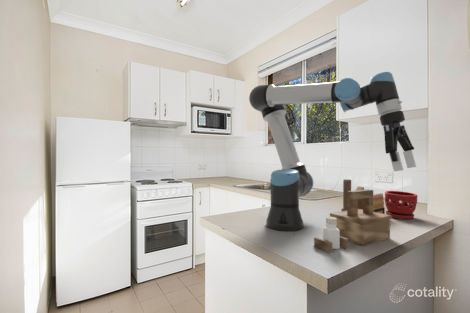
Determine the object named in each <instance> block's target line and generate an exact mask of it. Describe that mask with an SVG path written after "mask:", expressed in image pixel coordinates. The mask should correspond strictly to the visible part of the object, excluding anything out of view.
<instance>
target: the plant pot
mask: <svg viewBox="0 0 470 313" xmlns="http://www.w3.org/2000/svg"><path fill="white" fill-rule="evenodd" d="M417 204H418V194H416V193H412V192H408V191H399V190H386V191H384V205H385V207H386V209H387V210H385V214H387V215H392V218H393V219H400V220H411V219H413V218H415V214H414V212H415V211H416V208H417Z"/></svg>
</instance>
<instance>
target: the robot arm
mask: <svg viewBox="0 0 470 313" xmlns="http://www.w3.org/2000/svg"><path fill="white" fill-rule="evenodd" d="M397 89H398V88H397V85H396V82H395V78H394V76H393V73H391V72H390V71H383V72H380V73H376V74H375V75H372V77H371V78H369V83H367V84H365V85H362V86H360V84H359V83H358V81H357V80H355V79H353V78H350V77H345V78H342V79H341V80H339V81H333V82H331V81H330V82H319V83H317V82H316V83H305V84H294V85H293V84H291V85H280V86H275V85H274V84H260V85H257V86H255V87H254V88H253V89H252V90H251V91H250V93H249V98H248V99H249V104H250V105H251V107H252V108H253V109H254V110H256V111H259V112H261V115H262V118H263V120H264V121H265V122H267V124H268V128H269V130H270V133H271V134H270V135H272V140H273V142H274V145H275V149H276V152H277V156H278V157H279V158H278V159H279V161H280V163H281V169H276V170H274V171H272V172H271V174H270V178H269V179H270V181H269V182H270V208H269V210H268V214H267V217H266V221H265V222H266V224H265V225H266V226H267V227H268V228H270V229H272V230H277V231H282V232H283V231H284V232H294V231H300V230H302V229H304V220H303V218H302V214H301V211H300V197H304V196H306V195H308V194H309V193H310V192H311V191H312V189H313V187H314V179H313V176H312V175H311V174H310V173H309V172H308V170H307V167H306V165H305V164H304V163H302V162H301V161H300V158H299V155H298V153H297V152H298V151H297V149H296V146H295V143H294V140H293V137H292V134H291V131H290V128H289V126H288V123H287V120H286V117H285V116H286V115H287V110H286V107H287V105H297V104H298V105H300V104H303V105H304V104H324V103H325V104H328V103H329V104H330V103H334V104H335V103H339V105H340V107H341V108H342V110H343V112H346V111H350V110H351V111H353V110H354V109H358V108H361V107H364V106H367V105H370V104H374V103H375V105H376V110H377V114H378V116H380V117H379V121H380V124H381V126H382V127H383V128H382V129H383V133H384V134H383V135H384V147H385V149H384V150H385V153H386V154H389V157H390V162H391V166H392V170H393V172H400V171H404V167H403V162H402V159H401V157H400V156H401V155H400V152H399V151H398V143H399V145H400V146H401V148H402V151H403V152H402V153H403V157H404V160H405V164H406V167H407V169H410V168H411V169H412V168H417V165H416V161H415V156H414V153H413V150H415V147H414V146H413V143H412V141H411V139H410V137H409V135H408V133H407V130H406V127H405V125H404V124H402V125H401V123H403V122H405V120H406V118H405V115H404V114H405V113H404V111H403V110H402V109H403V107H402V103H403V101H402V100H400V97H399V93H398V90H397Z"/></svg>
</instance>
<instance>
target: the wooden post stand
mask: <svg viewBox="0 0 470 313" xmlns="http://www.w3.org/2000/svg"><path fill="white" fill-rule="evenodd" d="M373 195H374V189H367V188H366V189H365V188H364V190H356V189H355V190H351V191H347V211H342V210H340V211H337V212H331V213H329V217H335V218H338V219H341V220H345V221H349V222H353V223H357V224H361V225H365V224H370V223H375V222H379V221H384V220H389V219H390V220H392V218H393V217H392V215H387V214H386V213H385V214H382V213H377V212H373ZM358 199H363V210H362V209H358Z"/></svg>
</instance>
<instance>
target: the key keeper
mask: <svg viewBox="0 0 470 313" xmlns="http://www.w3.org/2000/svg"><path fill="white" fill-rule="evenodd" d="M313 247H314V248H316V249H319V250H321V251H323V252H326V253H327V254H331V253H332V254H333V249H332V242H329V241H326V240H324V239H323V238H321V237H318V236H314V237H313ZM340 248H343V249H346V250H347V249H349V241H348V238H345V237H342V236H340Z"/></svg>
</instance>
